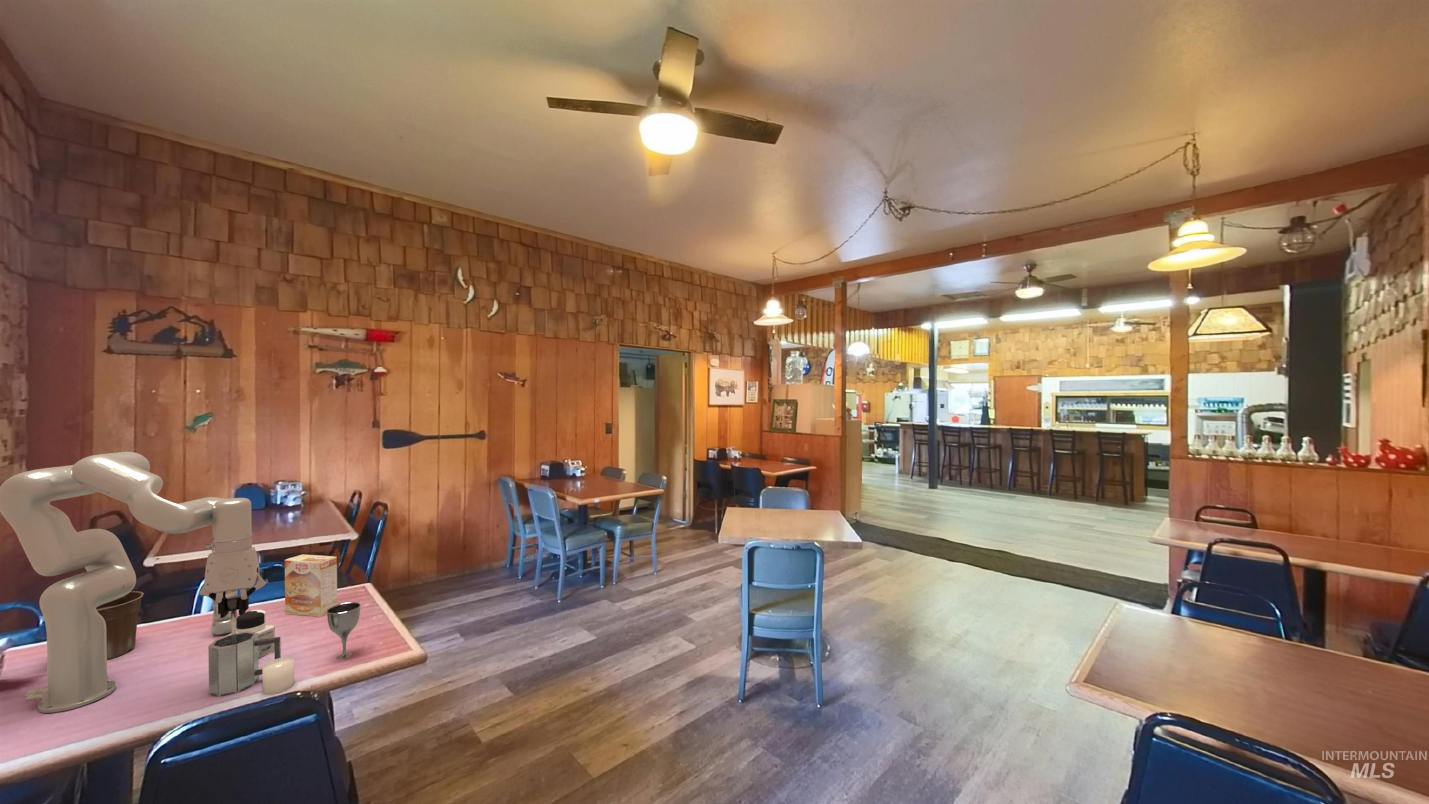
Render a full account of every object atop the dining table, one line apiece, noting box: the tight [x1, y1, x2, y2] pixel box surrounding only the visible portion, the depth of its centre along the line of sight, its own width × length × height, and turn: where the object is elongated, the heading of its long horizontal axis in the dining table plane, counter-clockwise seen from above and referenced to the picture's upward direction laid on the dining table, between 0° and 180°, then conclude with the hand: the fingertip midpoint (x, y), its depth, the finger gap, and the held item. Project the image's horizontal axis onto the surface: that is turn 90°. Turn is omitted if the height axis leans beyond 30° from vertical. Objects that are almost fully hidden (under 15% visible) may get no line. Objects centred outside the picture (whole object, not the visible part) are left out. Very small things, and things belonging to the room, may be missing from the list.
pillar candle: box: [261, 656, 295, 695], centre depth 135 cm, size 6×6×7 cm
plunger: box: [226, 595, 241, 645], centre depth 135 cm, size 6×6×16 cm
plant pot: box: [96, 590, 144, 661], centre depth 153 cm, size 16×16×16 cm
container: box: [228, 609, 276, 659], centre depth 153 cm, size 8×8×13 cm
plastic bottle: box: [210, 590, 239, 636], centre depth 167 cm, size 6×7×20 cm
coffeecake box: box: [284, 554, 338, 618], centre depth 184 cm, size 15×7×20 cm, turn 81°
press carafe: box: [207, 631, 282, 698], centre depth 137 cm, size 14×9×13 cm, turn 117°
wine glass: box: [326, 601, 361, 660], centre depth 151 cm, size 8×8×15 cm
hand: (233, 613), depth 135 cm, fingers closed on plunger, 3 cm apart
